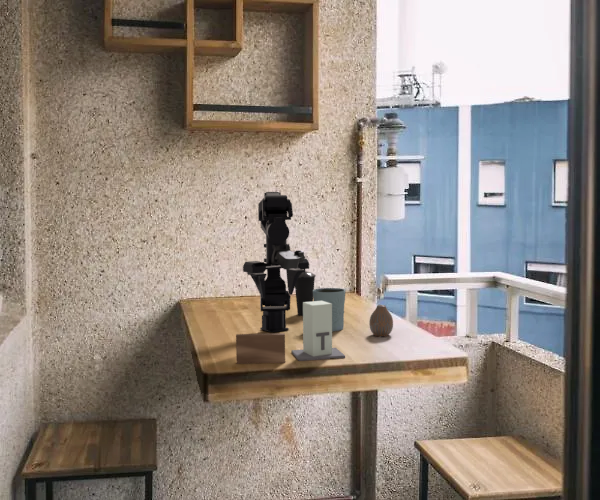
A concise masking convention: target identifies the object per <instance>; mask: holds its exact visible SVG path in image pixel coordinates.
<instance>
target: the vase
mask: <svg viewBox="0 0 600 500" xmlns="http://www.w3.org/2000/svg"><path fill="white" fill-rule="evenodd" d="M368 324H369V330H370V332H371V333H372V334H373V335H374V336H375V337H380V336H384V337H387V336H390V334H391V333H392V331H393V329H394V320H393V316H392V314H391V313H390V311H389V310H388V308H387V306H386V305H385V304H378V305H377V306H376V307H375V309H374V310H373V311H372V313H371V315H370V317H369V323H368Z"/></svg>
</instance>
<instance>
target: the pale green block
mask: <svg viewBox="0 0 600 500" xmlns="http://www.w3.org/2000/svg"><path fill="white" fill-rule="evenodd" d="M302 326H303V328H302V344H303V347H302V350H303V352H305V353H307V354H309V355H311V356H320V355H327V354H332V348H333V331H332V304H331V303H328V302H325V301H314V300H313V301H312V302H303V316H302Z"/></svg>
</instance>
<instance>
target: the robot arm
mask: <svg viewBox="0 0 600 500" xmlns="http://www.w3.org/2000/svg"><path fill="white" fill-rule="evenodd" d="M281 193H282V192H280V191H266V192H263V198H262V199H261V200H259V201H260V202H258V206H257V207H258V208H257V209H258V210H257V215H258V216H257V218H258V222H260V229H261V230H262V232H263V233H264V234H265V243H263V248H265V249H266V250H265V254H266V255H265V256H266V257H265V258H263V261H259V260H253V261H251V260H249V261H244V263H243V264H242V265H243V266H242V272H244V273H246V274H247V275H249V276H250V277H251V278H252V280H253V283H254V285H255V286H256V288H257V290H258V291H257V292H258V293H259V295H260V297H259V299H260V300H259V301H260V302H259V303H260V304H259V306H260V312H262V315H261V327H260V330H262V331H265V332H269V333H278V332H284V331H289V329H290V328H289V327H286V325H287V324H286V314H287V312H288V311H290V310H291V296H292V295H293V293H294V290H295V285H296V282H297V280H298V277H299V276H300V275H301V274H302V273H303V272H305V271H306V270H308V269H310V261H309V260H308V259H307V258H305V259H304V256H305V253H304V251H303V250H302V249H298V250H294V251H291V245H290V244H289V243H287V241H288V240H287V239H288V238H289V236H290V228H289V227H288V225H287V223H286V221H287V220H288V221H291V220H292V218H293V216H294V212H293V203H292V202H291V199H290V198H288V195H287V194H281ZM281 269H283V270H285V271H286V273H285V274H286V281H285V280H284V279H283V278H282V276H281ZM303 269H305V270H303ZM265 272H266V273H265ZM286 282H287V284H286Z"/></svg>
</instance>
